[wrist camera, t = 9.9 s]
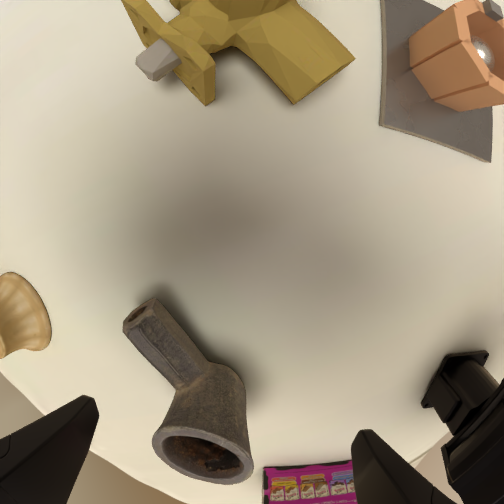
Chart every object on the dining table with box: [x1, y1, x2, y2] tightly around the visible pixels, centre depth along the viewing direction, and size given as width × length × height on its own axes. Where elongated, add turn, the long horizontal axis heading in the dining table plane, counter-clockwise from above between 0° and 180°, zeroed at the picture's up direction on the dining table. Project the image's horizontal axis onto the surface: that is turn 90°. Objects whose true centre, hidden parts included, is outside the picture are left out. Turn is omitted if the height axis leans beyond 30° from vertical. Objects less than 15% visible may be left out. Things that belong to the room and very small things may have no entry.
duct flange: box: [379, 0, 495, 163], centre depth 12 cm, size 10×12×6 cm
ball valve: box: [121, 0, 356, 106], centre depth 11 cm, size 13×10×10 cm
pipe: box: [123, 298, 254, 485], centre depth 18 cm, size 6×13×8 cm, turn 31°
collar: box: [409, 0, 504, 112], centre depth 11 cm, size 6×6×7 cm
